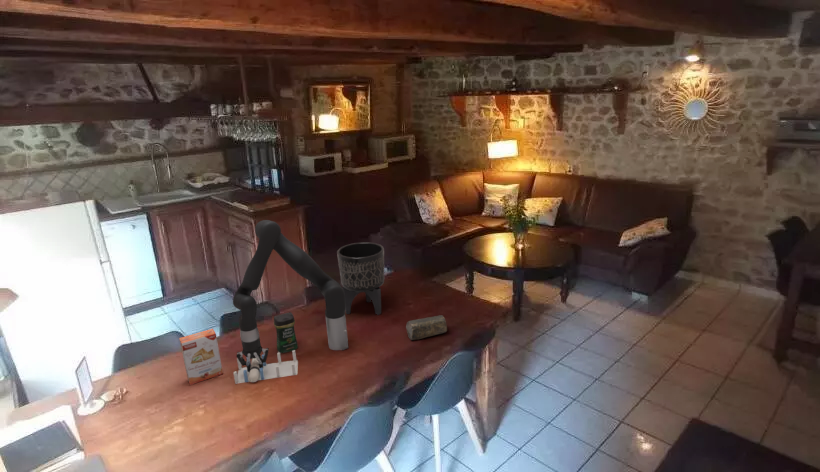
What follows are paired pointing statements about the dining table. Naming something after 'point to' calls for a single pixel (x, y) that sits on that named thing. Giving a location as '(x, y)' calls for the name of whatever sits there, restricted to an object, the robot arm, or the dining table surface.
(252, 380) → the banded cream tube
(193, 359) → the cracker box
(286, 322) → the coffee jar
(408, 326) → the stone block
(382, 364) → the dining table surface
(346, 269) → the planter
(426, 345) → the dining table surface
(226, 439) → the dining table surface
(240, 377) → the white pegged rack
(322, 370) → the dining table surface
